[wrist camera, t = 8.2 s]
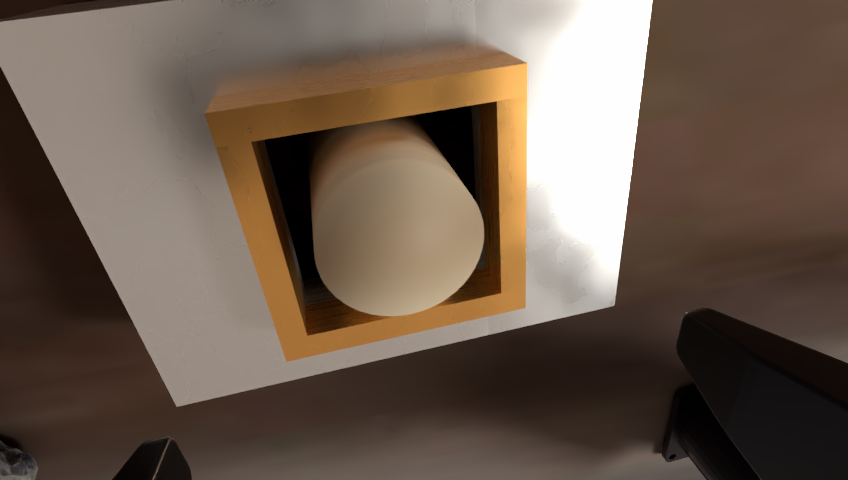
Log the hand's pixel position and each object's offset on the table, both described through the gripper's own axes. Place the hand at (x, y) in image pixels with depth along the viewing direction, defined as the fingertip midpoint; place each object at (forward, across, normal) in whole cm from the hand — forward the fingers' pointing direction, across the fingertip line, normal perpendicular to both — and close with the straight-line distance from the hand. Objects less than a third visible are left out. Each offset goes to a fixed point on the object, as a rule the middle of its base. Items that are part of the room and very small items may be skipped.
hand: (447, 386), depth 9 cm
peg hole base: (+12, 0, 0) cm, 12 cm away
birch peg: (+12, 0, 0) cm, 12 cm away
